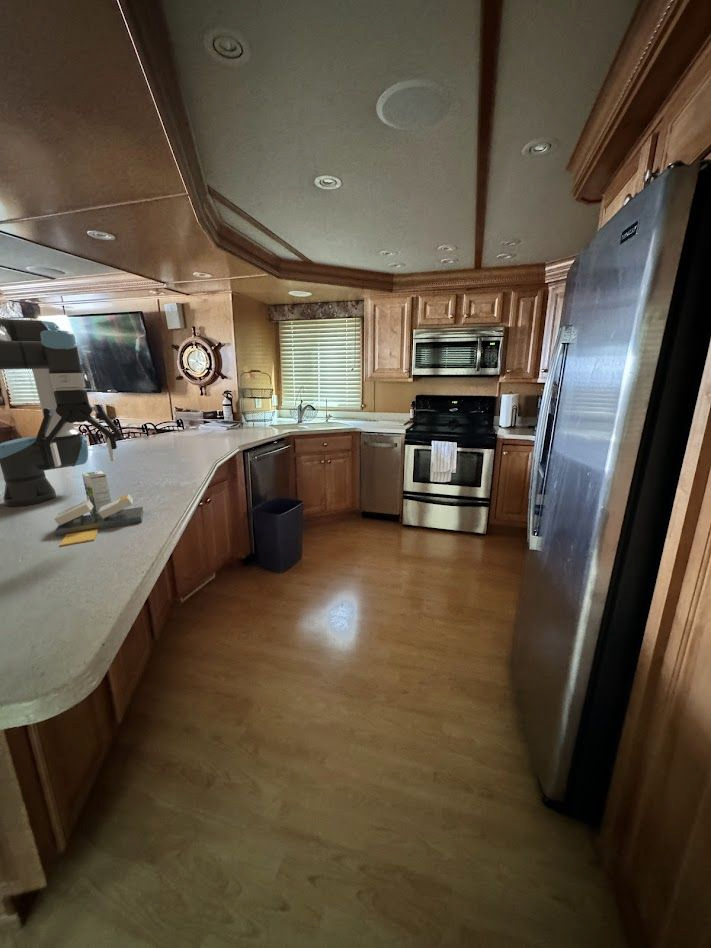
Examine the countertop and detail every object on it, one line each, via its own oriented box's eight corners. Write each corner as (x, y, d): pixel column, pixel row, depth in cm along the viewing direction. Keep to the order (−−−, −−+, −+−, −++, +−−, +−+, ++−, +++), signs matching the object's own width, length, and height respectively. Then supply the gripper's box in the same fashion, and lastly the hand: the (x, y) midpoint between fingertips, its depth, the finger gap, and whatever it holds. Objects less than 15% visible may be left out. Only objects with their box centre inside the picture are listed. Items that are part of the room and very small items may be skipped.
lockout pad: (66, 535, 110) (66, 534, 110) (98, 530, 114) (98, 528, 114) (59, 546, 104) (59, 545, 103) (94, 540, 107) (94, 538, 107)
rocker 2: (105, 513, 121) (100, 506, 120) (133, 500, 123) (128, 493, 122) (102, 518, 116) (97, 511, 115) (132, 504, 119) (127, 497, 118)
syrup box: (89, 514, 127) (80, 473, 123) (109, 509, 131) (101, 469, 127) (94, 518, 123) (84, 476, 119) (114, 513, 127) (106, 472, 123)
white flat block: (63, 519, 116) (58, 513, 115) (93, 505, 119) (89, 499, 118) (59, 525, 112) (54, 519, 111) (90, 510, 114) (86, 504, 113)
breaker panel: (64, 524, 119) (62, 514, 118) (143, 512, 128) (141, 502, 127) (56, 536, 110) (53, 525, 109) (141, 522, 119) (139, 512, 118)
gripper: (7, 391, 97) (29, 471, 102) (119, 387, 107) (133, 460, 112) (19, 391, 104) (38, 465, 109) (122, 387, 113) (135, 455, 119)
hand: (86, 463), depth 111 cm, fingers open, 13 cm apart
